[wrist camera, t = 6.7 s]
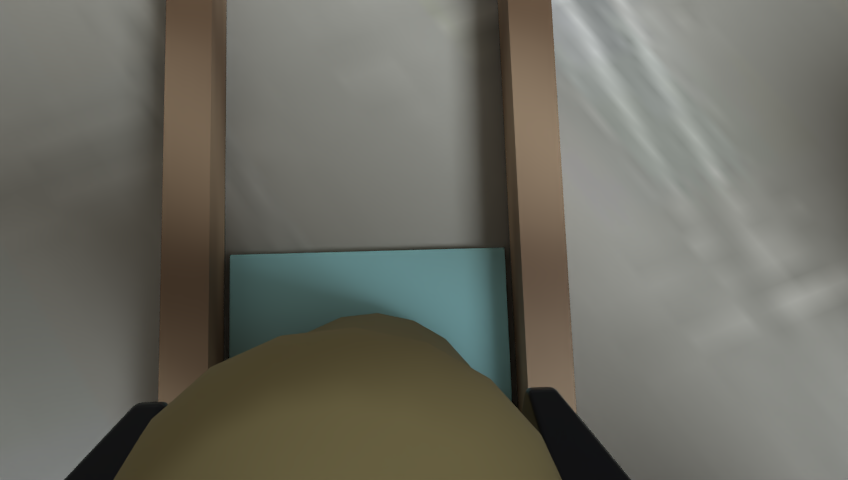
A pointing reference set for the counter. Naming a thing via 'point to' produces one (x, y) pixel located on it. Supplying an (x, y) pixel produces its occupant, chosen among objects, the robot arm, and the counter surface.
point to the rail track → (364, 270)
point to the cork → (342, 414)
